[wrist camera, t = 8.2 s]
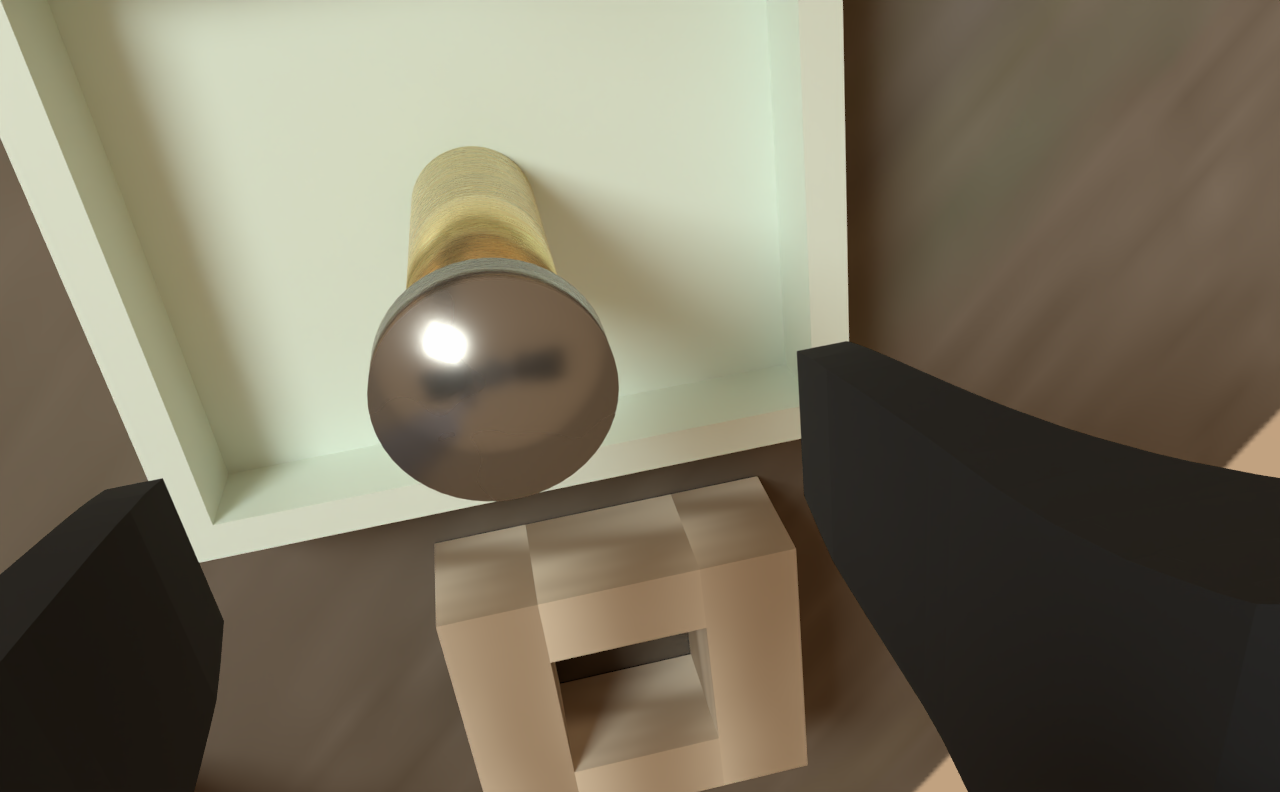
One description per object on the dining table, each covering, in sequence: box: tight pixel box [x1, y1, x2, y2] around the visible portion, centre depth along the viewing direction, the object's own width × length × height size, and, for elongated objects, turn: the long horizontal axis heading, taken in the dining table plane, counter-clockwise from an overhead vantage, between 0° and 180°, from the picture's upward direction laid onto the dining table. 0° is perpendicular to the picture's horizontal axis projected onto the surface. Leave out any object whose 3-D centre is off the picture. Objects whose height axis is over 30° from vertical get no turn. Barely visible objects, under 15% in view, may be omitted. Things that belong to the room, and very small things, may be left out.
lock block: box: [434, 476, 808, 792], centre depth 25 cm, size 8×7×3 cm
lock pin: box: [367, 146, 619, 502], centre depth 16 cm, size 3×3×8 cm
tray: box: [0, 0, 849, 562], centre depth 19 cm, size 14×12×2 cm
